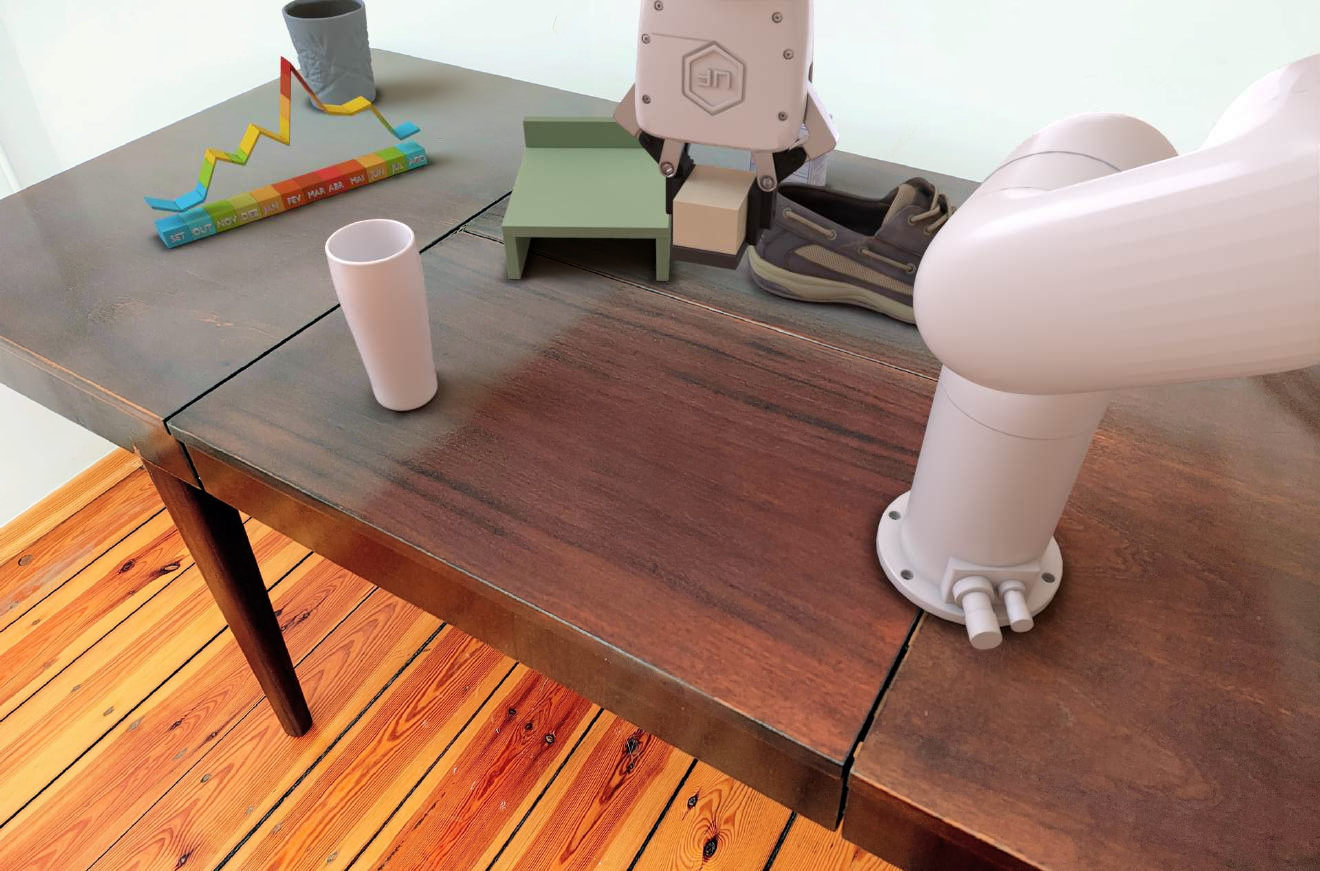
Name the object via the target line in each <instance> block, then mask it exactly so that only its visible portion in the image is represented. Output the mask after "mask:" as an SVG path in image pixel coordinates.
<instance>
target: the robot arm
mask: <svg viewBox="0 0 1320 871" xmlns="http://www.w3.org/2000/svg"><path fill="white" fill-rule="evenodd" d="M814 5H815V4H814V0H640V7H639V8H640V9H639V18H638V28H637V29H638V30H637V43H636V45H637V46H636V60H635V80H634V82H633V84H632V85H631V87H630V88H629V90H628V91H627V93H626V94H625V95H624V97H623V98H622V99H621V101H620V102H619V104H618V105H617V106H616V108H615V110H614V111H613V113H612V117H613V118H614V120H615V121H616V122H617V123H618V124H619V125H620V126H622V127H623V128H624V129H625V130H626V131H627V132H629V133H630V134H631V135H632V136H633V137H636V138H638V139H639V143H640V144H641V146H642V147H643V148H644V149H645V150H646V151H647V152H648V153H649V154H650V156H651V157H652V158H653V159H654V160H655V161H656V162H657V163H658V165H659V172H660V173H661V174H662V175H663V176H664V177H666V214H669V215H672V217H671V234H673V200H674V198H675V197H676V195H677V194H678V192H679V191H680V189H681V188H682V186H683V184H684V183H685V181H686V180H687V178H688V177H689V175H690V174H691V172H692V171H693V169H694V167H695V166H696V164H697V163H695V160H694V159H693V158H691V155H689V152H690V149H691V145H692V144H693V145H701V146H707V147H708V146H709V147H716V148H725V149H732V150H740V151H747V152H750V151H752V152H753V158H754V164H755V170H756V177H755V181H754V183H753V185H752V187H751V189H750V191H749V199H748V215H747V232H746V238H747V240H746V242H747V243H748V244H749V245H748V246H750V245H751V246H757V245H758V242H759V240H760V238H761V236H762V234H763V232H764V230H765V229H767V230H771V229H772V227H773V225H774V221H775V216H776V205H777V193H778V184H779V183H780V182H782V181H783V180H784V179H786V178H787V177H789V176H790V175H791V174H793V173H794V172H795V171H797V170H798V169H799V168H801V167H802V166H803V164H805V163H807V162H809V161H812V160H814V159H816V158H818V157H820V156H822V155H824V154H826V153H828V154H829V153H831V152H832V151H833V150H835V148H836V146H837V144H838V142H839V140H840V136H841V134H840V132H839V130H838V128H837V126H836V124H835V122H834V121H833V118H832V119H831V117H830V115H831V114H830V113H829V112H828V110H827V108H826V106H825V105H824V103H823V101H822V99H821V98H820V96H819V94H818V93H817V91H816V89H815V87H814V85H813V80H814V79H813V78H814V54H815V53H814V51H815V50H814V49H815V44H814V43H815V9H814V8H815V6H814ZM829 114H830V115H829ZM802 124H804V126H805V128H806V129H807V131H808V133H809V135H807V136H805V137H804V138H802V139H798V140H797V138H798V137H799V134H800V131H801V128H802ZM913 308H914V316H915V320H916V324H917V325H916V324H915V325H916V326H917V329H918V331H919V334H920V336H921V338H922V340H923V342H924V344H925V345H926V347H927V348H928V350H929V351H930V352H931V353H932V355H933V356H934V357H935V358H936V359H937V360H938V361H939V362H940V363H941V364H942V366H941V369H940V373H939V376H938V380H937V383H936V388H935V392H934V396H933V400H932V403H931V408H930V412H929V416H928V420H927V423H926V427H925V428H926V429H925V432H924V436H923V440H922V445H921V448H920V452H919V456H918V460H917V463H916V464H917V465H916V468H915V472H914V476H913V481H912V483H911V484H912V485H911V488H910V490H908V491H906V492H904V493H902V494H901V495H899V496H898V497H896V498H895V499H894V500H893V501H892V502H891V503H890V504H889V505H888V506H887V508H885V510H884V512H883V513H882V516H881V518H880V521H879V524H878V527H877V533H876V537H875V542H876V553H877V557H878V561H879V563H880V566H881V567H882V570H883V571H884V573H885V575H886V577H887V579H888V580H889V581H890V582H891V583H892V585H893V586H894V587H895V588H896V589H897V591H898V592H899V593H900V594H902V595H903V596H904V597H905V598H907V599H908V600H909V601H910V602H911V603H913V604H915V605H916V606H918V607H919V608H921V609H922V610H923V611H925V612H927V613H928V614H929V613H930V614H931V615H934V616H937V617H938V618H941V619H943V620H946V621H950V622H953V623H957V624H960V625H963V626H965V627H966V630H967V634H968V638H969V642H970V644H971V646H972V647H973V648H974V649H977V650H983V651H986V650H991V649H994V648H996V647H998V646H1000V644H1001V643H1002V642H1003V634H1002V632H1001V628H1000V627H1006V626H1010V629H1011V630H1012V631H1014V632H1017V633H1024V632H1028V631H1030V630H1032V629H1033V627H1034V620H1033V618H1034V617H1035V616H1036V615H1038V614H1039V613H1041V612H1042V611H1043V610H1045V609H1046V607H1047V606H1048V605H1049V604H1050V603H1051V601H1053V599H1054V596H1055V595H1056V592H1058V589H1059V586H1060V584H1061V580H1062V577H1063V557H1062V553H1061V550H1060V547H1059V545H1058V543H1057V540H1056V538H1055V537H1054V533H1055V532H1056V528H1057V526H1058V524H1059V521H1060V520H1061V517H1062V514H1063V512H1064V510H1065V507H1066V505H1067V502H1068V500H1069V498H1070V496H1071V492H1072V490H1073V489H1074V486H1075V483H1076V480H1077V479H1078V475H1079V473H1080V472H1081V469H1082V467H1083V464H1084V462H1085V459H1086V456H1087V455H1088V452H1089V449H1090V447H1091V445H1092V443H1093V440H1094V438H1095V435H1096V433H1097V430H1098V428H1099V426H1100V423H1101V421H1102V419H1103V418H1104V416H1105V414H1106V411H1107V409H1108V406H1109V404H1110V402H1111V399H1112V398H1113V395H1114V393H1115V391H1118V390H1127V389H1129V390H1130V389H1138V388H1149V387H1159V386H1168V385H1178V384H1189V383H1198V382H1208V381H1219V380H1227V379H1237V378H1238V379H1239V378H1248V377H1255V376H1264V375H1270V374H1279V373H1286V372H1290V371H1295V370H1300V369H1301V370H1302V369H1306V368H1309V367H1313V366H1317V365H1320V52H1318V53H1316V54H1312V55H1309V56H1306V57H1303V58H1300V59H1297V60H1294V61H1291V62H1289V63H1286V64H1284V65H1282V66H1279V67H1277V68H1275V69H1274V70H1272V71H1270V72H1269V73H1267V74H1265V75H1264V76H1262V77H1261V78H1260V79H1258V80H1256V81H1255V82H1252V84H1250V85H1249V86H1247V88H1246V89H1245V90H1244V91H1243V92H1242V93H1241V94H1240V95H1239V96H1238V97H1236V99H1235V100H1234V101H1233V102H1232V103H1231V104H1230V105H1229V107H1227V109H1226V110H1225V112H1224V113H1222V115H1221V117H1220V118H1219V120H1218V121H1217V122H1216V124H1215V125H1214V127H1213V128H1212V130H1211V132H1210V133H1209V135H1208V136H1207V137H1206V140H1205V141H1204V142H1203V143H1202V145H1201V147H1200V148H1199V149H1196V150H1193V151H1189V152H1186V153H1183V154H1179V153H1178V151H1177V150H1176V148H1175V146H1174V145H1173V144H1172V143H1171V141H1170V140H1169V139H1168V138H1167V137H1166V136H1165V135H1164V134H1163V133H1162V132H1161V131H1160V130H1159V129H1157V128H1156V127H1154V126H1153V125H1151V124H1150V123H1148V122H1147V121H1145V120H1142V119H1140V118H1139V117H1136V116H1133V115H1129V114H1126V113H1121V112H1116V111H1115V112H1114V111H1108V110H1107V111H1105V110H1104V111H1103V110H1098V111H1086V112H1081V113H1076V114H1072V115H1069V116H1066V117H1063V118H1060V119H1058V120H1055V121H1053V122H1051V123H1049V124H1048V125H1046V126H1044V127H1042V128H1041V129H1039V130H1037V131H1036V132H1035V133H1033V134H1031V135H1030V136H1029V137H1027V138H1026V139H1025V140H1023V141H1022V142H1021V143H1019V145H1018V146H1016V147H1015V148H1014V149H1013V150H1011V152H1010V153H1009V154H1008V155H1007V156H1006V157H1005V158H1004V159H1003V160H1002V161H1001V162H1000V163H999V164H998V165H997V166H996V167H995V168H994V170H993V171H991V173H990V174H988V175H987V177H986V178H985V179H984V180H983V181H982V183H981V184H980V185H979V186H978V187H977V189H975V191H973V193H972V194H971V195H970V196H969V197H968V198H967V199H966V200H965V201H964V203H962V204H961V206H959V207H958V208H957V209H956V211H955V212H954V214H953V215H952V216H951V217H950V218H949V220H948V221H947V222H946V223H945V225H944V226H943V227H942V228H941V229H940V230H939V232H938V233H937V234H936V236H935V237H934V239H933V240H932V242H931V243H930V245H929V246H928V248H927V250H926V252H925V253H924V255H923V258H922V260H921V262H920V265H919V268H918V271H917V274H916V278H915V283H914V292H913Z"/></svg>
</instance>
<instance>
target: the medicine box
mask: <svg viewBox="0 0 1320 871" xmlns="http://www.w3.org/2000/svg"><path fill="white" fill-rule="evenodd" d="M828 114H829V115H830V117H831V119H832V120H833V115H832V114H830V113H828ZM807 135H809V133H808V131H807V129H806V128H805V126H804V124H802V128H801V131H800V134H799V137H798V138H797V140H798V139H802V138H804V137H805V136H807ZM748 157H749V158H748V171H752V172H756V170H755V164H754V158H753V152H752V151H749V156H748ZM828 158H829V152H828V153H826V154H824V155H822V156H820V157H818V158H816V159H814V160H812V161H809V162H807V163H805V164H803V166H802V167H801V168H799V169H798V170H797V171H795V172H794V173H793V174H791V175H790V176H789V177H787V178H786V179H784V180H783V181H782V182H799V183H806V184H812V185H818V186H822V185H823V186H826V179H827V169H828V161H829V160H828Z"/></svg>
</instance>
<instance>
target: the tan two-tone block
mask: <svg viewBox="0 0 1320 871" xmlns="http://www.w3.org/2000/svg"><path fill="white" fill-rule="evenodd" d="M695 164H696V166H695V167H694V169H693V171H692V172H691V174H690V175H689V177H688V178H687V180H686V181H685V183H684V184H683V186H682V188H681V189H680V191H679V192H678V194H677V195H676V197H675V198H674V200H673V233H672V240H673V241H672V244H671V245H670V260H672V261H677V262H685V263H691V264H695V265H701V266H707V267H714V268H720V269H725V270H731V271H737V269H738V268H739V265H740V264H741V261H742V260H743V257H744V255H745V253H746V250H748V248H749V247H748V246H750V245H749V244H748V243H747V242H746V240H747V238H746V232H747V215H748V199H749V191H750V189H751V187H752V185H753V183H754V181H755V177H756V172H752V171H749V170H743V169H737V168H729V167H723V166H716V165H709V164H703V163H695Z"/></svg>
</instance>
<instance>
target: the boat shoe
mask: <svg viewBox="0 0 1320 871" xmlns="http://www.w3.org/2000/svg"><path fill="white" fill-rule="evenodd" d="M957 210H958V208H957V206H955V205H952V204H951V201H950V198H949V197H948V195H947V194H945V193H940V189H939V187H938V185H937V184H935V183H932V182H929V180H927V179H926V178H925V177H922V176H915V177H912V178H909V179H907V180H905V181H903V182H902V183H900V184H899V185H897V186H896V187H894V188H893V189H891V190H889V191H888V193H887V194H886V195H885V196H882V197H880V198H876V197H868V196H863V195H857V194H854V193H850V192H848V191H847V192H846V191H844V190H838V189H834V188H831V187H829V186H827V185H825V186H823V185H822V186H818V185H812V184H806V183H799V182H780V183H779V184H778V193H777V205H776V216H775V221H774V225H773V227H772V229H771V230H767V229H765V230H764V232H763V234H762V236H761V238H760V240H759V242H758V245H757V246H751V245H749V247H748V248H747V253H746V262H747V268H748V271H749V273H750V276H751V278H752V279H753V281H754V282H755V283H756V284H757V285H758V287H760V288H761V289H763V290H765V291H766V292H769V293H770V294H774V295H776V296H779V297H782V298H787V299H792V300H797V301H804V302H813V303H841V304H849V305H853V306H858V307H862V308H866V309H868V310H870V311H871V310H872V311H874V312H877V313H880V314H885V315H888V316H889V317H891V318H892V319H895V320H899V321H901V322H905V323H907V324H914V325H916V326H917V324H916V320H915V316H914V308H913V292H914V283H915V278H916V274H917V271H918V268H919V265H920V262H921V260H922V258H923V255H924V253H925V252H926V250H927V248H928V246H929V245H930V243H931V242H932V240H933V239H934V237H935V236H936V234H937V233H938V232H939V230H940V229H941V228H942V227H943V226H944V225H945V223H946V222H947V221H948V220H949V218H950V217H951V216H952V215H953V214H954V213H955V212H956V211H957Z"/></svg>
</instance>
